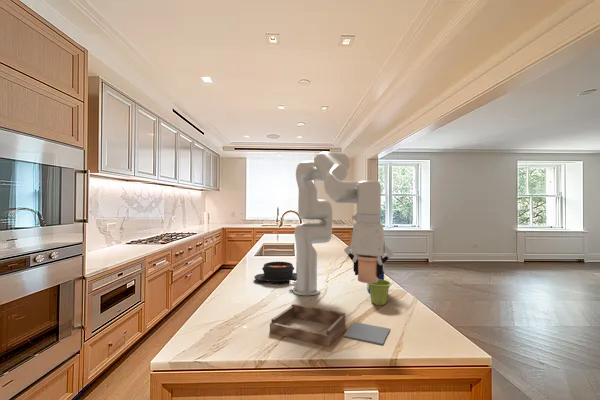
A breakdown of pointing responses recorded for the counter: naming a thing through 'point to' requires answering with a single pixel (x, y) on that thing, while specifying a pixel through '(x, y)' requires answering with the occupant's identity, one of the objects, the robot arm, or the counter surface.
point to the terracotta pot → (367, 269)
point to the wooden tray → (310, 314)
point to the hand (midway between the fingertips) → (368, 275)
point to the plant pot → (379, 291)
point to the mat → (367, 333)
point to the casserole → (277, 272)
